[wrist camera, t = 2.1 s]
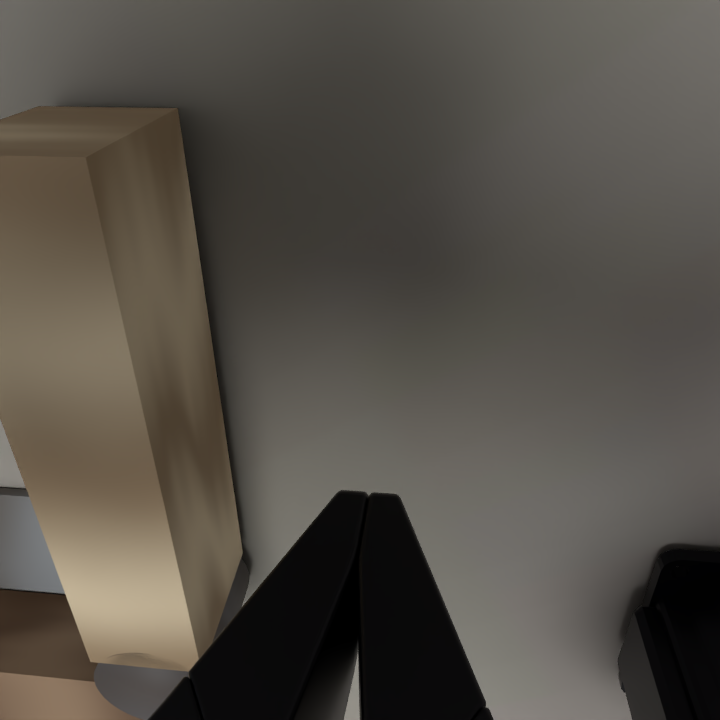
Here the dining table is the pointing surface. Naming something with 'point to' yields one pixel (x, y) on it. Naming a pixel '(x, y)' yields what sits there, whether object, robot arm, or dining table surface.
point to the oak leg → (117, 390)
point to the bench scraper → (40, 629)
